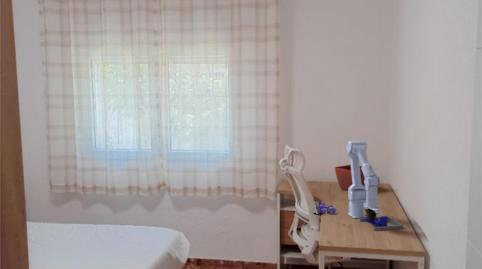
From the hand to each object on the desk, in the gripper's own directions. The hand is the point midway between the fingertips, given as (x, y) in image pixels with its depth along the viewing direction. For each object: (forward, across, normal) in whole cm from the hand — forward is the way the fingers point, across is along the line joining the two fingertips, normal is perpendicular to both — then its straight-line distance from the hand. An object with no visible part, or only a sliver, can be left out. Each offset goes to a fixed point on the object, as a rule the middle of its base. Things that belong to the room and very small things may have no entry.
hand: (371, 222), depth 221 cm
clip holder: (+1, 0, +5) cm, 5 cm away
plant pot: (+2, -79, +26) cm, 83 cm away
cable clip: (+2, -1, +3) cm, 4 cm away
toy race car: (+2, -29, -15) cm, 33 cm away
